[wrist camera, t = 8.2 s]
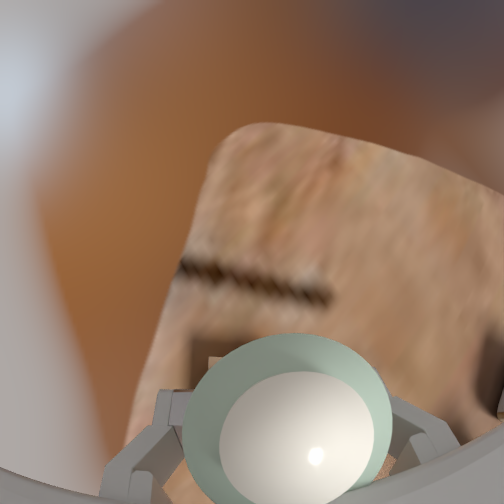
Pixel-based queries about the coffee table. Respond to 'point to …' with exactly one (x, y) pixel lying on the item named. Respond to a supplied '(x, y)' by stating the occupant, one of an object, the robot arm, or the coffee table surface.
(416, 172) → the coffee table surface
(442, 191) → the coffee table surface
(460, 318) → the coffee table surface
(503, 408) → the ceramic mug
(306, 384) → the column
